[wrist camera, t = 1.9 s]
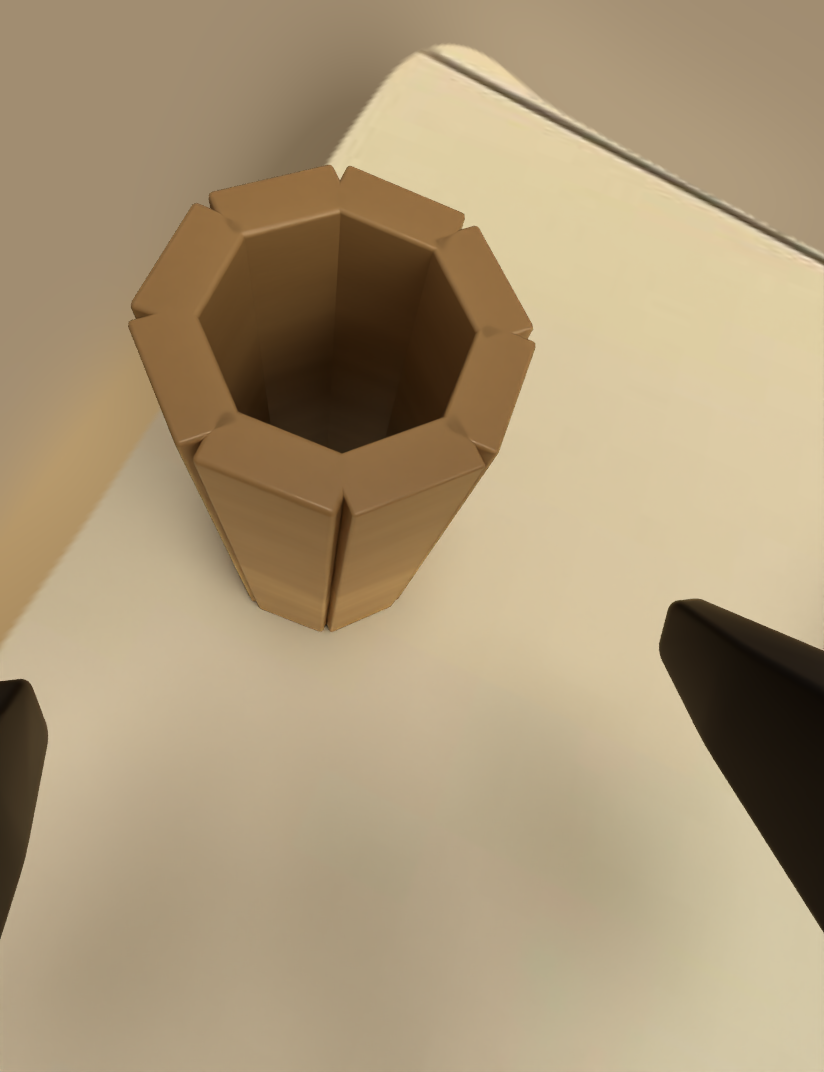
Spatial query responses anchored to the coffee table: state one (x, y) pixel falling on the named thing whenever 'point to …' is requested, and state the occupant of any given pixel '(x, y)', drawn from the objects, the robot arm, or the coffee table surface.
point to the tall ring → (331, 380)
